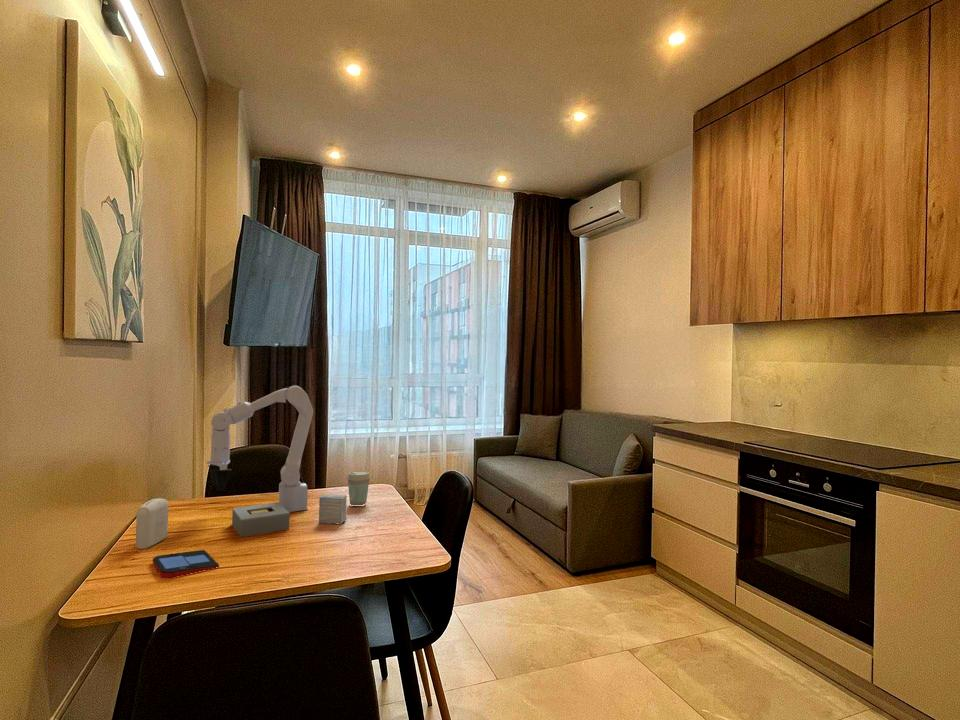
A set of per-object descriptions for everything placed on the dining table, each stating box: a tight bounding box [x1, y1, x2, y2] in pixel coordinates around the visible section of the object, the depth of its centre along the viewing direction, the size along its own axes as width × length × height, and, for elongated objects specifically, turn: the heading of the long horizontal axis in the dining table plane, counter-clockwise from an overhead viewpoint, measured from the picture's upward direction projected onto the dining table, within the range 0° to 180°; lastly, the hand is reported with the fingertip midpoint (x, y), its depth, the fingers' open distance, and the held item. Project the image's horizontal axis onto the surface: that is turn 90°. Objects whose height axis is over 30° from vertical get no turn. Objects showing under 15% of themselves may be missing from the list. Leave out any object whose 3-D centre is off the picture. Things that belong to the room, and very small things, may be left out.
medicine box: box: [318, 494, 347, 525], centre depth 168 cm, size 8×4×9 cm, turn 84°
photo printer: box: [135, 497, 169, 550], centre depth 145 cm, size 10×4×12 cm, turn 2°
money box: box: [231, 502, 291, 538], centre depth 162 cm, size 14×14×5 cm
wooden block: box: [250, 509, 269, 514], centre depth 161 cm, size 5×3×5 cm, turn 126°
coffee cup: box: [346, 470, 371, 505], centre depth 189 cm, size 9×8×12 cm
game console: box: [152, 549, 220, 579], centre depth 130 cm, size 14×13×2 cm
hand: (219, 487), depth 173 cm, fingers open, 7 cm apart
